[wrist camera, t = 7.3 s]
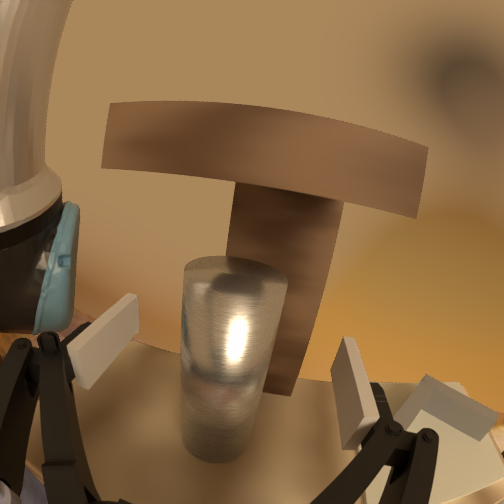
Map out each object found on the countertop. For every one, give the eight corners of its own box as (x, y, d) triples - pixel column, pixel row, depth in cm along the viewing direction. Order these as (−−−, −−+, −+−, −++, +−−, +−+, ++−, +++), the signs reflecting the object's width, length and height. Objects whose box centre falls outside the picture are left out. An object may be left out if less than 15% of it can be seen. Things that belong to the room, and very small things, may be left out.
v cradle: (365, 521, 9) (389, 504, 8) (344, 383, 22) (354, 358, 21) (504, 477, 8) (527, 455, 7) (455, 384, 21) (468, 363, 20)
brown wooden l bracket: (136, 463, 12) (110, 103, 7) (190, 357, 23) (212, 140, 18) (286, 497, 11) (428, 147, 6) (291, 377, 23) (343, 161, 17)
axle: (168, 434, 15) (163, 266, 11) (212, 405, 18) (231, 250, 15) (217, 475, 12) (245, 310, 9) (260, 437, 16) (305, 279, 12)
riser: (53, 494, 12) (3, 438, 9) (118, 397, 27) (106, 331, 24) (448, 536, 9) (517, 489, 6) (420, 439, 24) (461, 384, 21)
